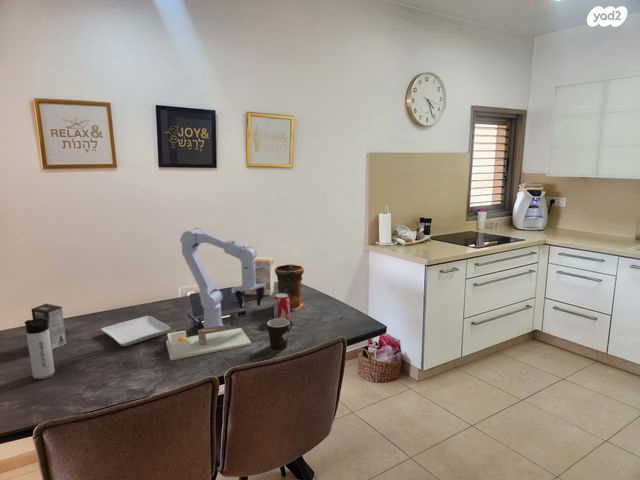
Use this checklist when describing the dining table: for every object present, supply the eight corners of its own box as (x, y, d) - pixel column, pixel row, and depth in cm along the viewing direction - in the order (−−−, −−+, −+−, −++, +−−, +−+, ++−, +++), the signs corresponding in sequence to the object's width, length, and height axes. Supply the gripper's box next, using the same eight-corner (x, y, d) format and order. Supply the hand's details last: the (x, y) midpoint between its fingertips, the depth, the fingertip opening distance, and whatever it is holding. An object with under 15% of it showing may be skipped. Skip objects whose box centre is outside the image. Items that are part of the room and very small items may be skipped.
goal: (168, 343, 165) (167, 333, 164) (186, 339, 168) (185, 330, 167) (171, 354, 155) (170, 344, 154) (190, 351, 158) (189, 341, 157)
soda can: (287, 323, 187) (286, 298, 184) (272, 322, 188) (271, 297, 186) (291, 317, 193) (291, 293, 191) (277, 316, 195) (276, 292, 192)
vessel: (304, 310, 202) (302, 271, 198) (275, 311, 202) (273, 271, 198) (305, 300, 216) (304, 263, 212) (278, 301, 216) (276, 264, 212)
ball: (174, 344, 163) (177, 334, 162) (185, 344, 164) (187, 335, 164) (176, 348, 159) (178, 338, 159) (186, 348, 161) (188, 339, 161)
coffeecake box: (244, 294, 227) (242, 259, 223) (248, 290, 234) (247, 256, 230) (270, 295, 224) (269, 260, 220) (274, 291, 231) (273, 257, 227)
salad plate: (172, 334, 176) (172, 327, 175) (121, 351, 161) (120, 343, 160) (149, 321, 190) (149, 314, 189) (100, 336, 175) (99, 328, 174)
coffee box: (35, 347, 163) (29, 308, 160) (50, 340, 169) (45, 303, 166) (52, 350, 160) (47, 311, 157) (67, 343, 166) (62, 305, 163)
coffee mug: (272, 353, 158) (271, 328, 156) (264, 344, 166) (264, 320, 164) (300, 346, 164) (299, 323, 162) (291, 338, 171) (291, 315, 169)
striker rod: (198, 340, 167) (197, 317, 165) (236, 333, 173) (235, 311, 171) (200, 345, 162) (199, 321, 161) (239, 337, 169) (238, 315, 167)
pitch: (166, 343, 167) (166, 340, 167) (240, 329, 180) (240, 327, 180) (170, 360, 153) (170, 357, 153) (251, 344, 166) (251, 342, 165)
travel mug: (38, 371, 145) (31, 317, 141) (58, 370, 146) (51, 316, 142) (28, 380, 139) (19, 324, 135) (48, 380, 139) (40, 324, 136)
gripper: (234, 280, 169) (235, 312, 172) (268, 276, 175) (268, 306, 178) (229, 276, 176) (231, 306, 178) (263, 272, 182) (263, 301, 184)
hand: (249, 306), depth 179 cm, fingers open, 7 cm apart
